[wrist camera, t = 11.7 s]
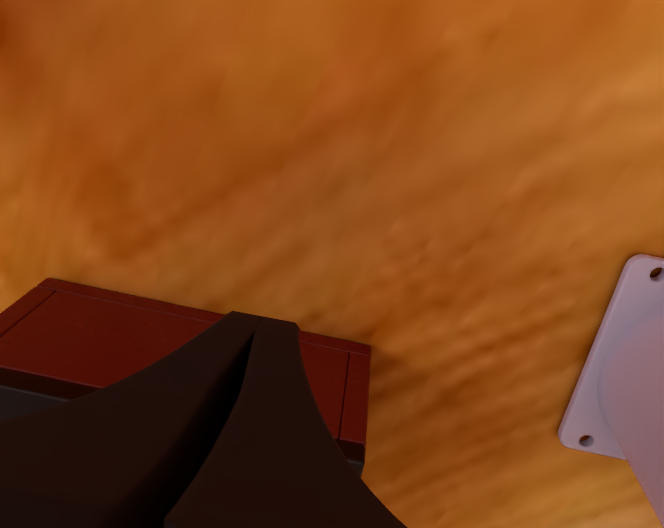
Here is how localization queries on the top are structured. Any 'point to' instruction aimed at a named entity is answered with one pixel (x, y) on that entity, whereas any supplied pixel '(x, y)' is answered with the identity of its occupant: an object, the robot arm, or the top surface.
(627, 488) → the top surface
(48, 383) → the box lid
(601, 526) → the top surface
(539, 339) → the top surface
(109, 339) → the reddish-brown open box
